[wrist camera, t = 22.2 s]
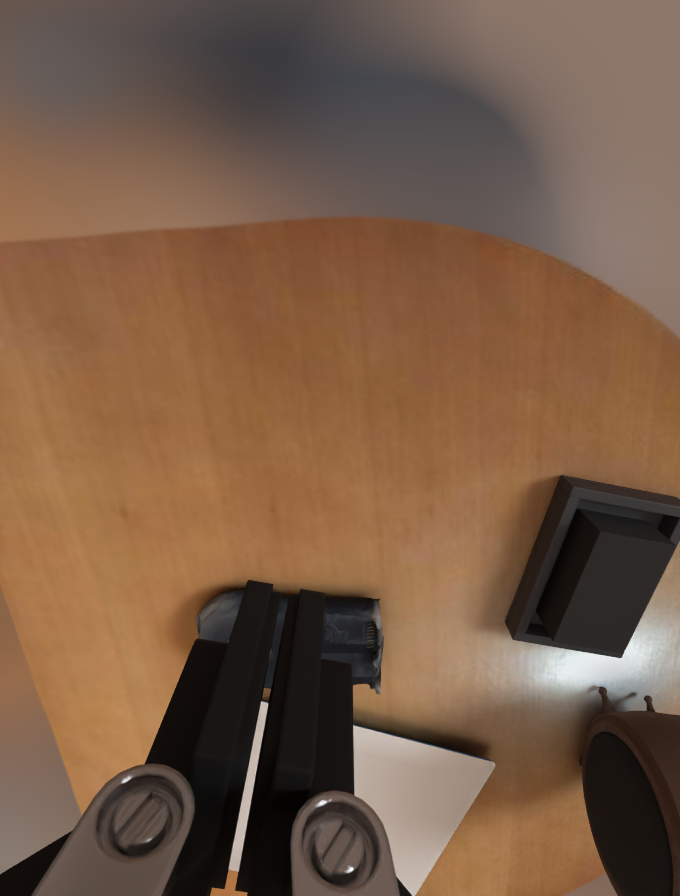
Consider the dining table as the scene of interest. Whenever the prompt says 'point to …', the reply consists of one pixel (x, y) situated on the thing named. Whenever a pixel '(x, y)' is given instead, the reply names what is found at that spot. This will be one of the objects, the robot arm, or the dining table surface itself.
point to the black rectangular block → (603, 580)
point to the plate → (398, 795)
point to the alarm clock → (635, 798)
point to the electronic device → (344, 632)
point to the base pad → (571, 493)
